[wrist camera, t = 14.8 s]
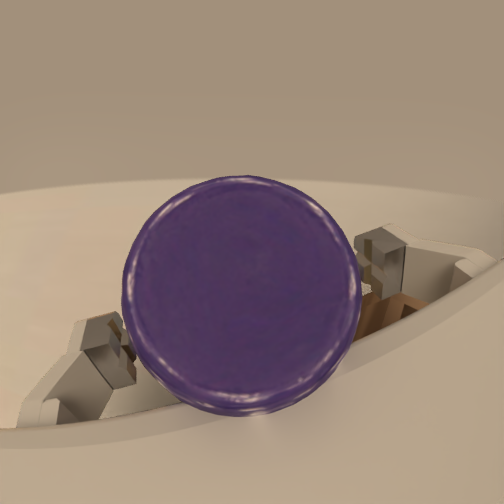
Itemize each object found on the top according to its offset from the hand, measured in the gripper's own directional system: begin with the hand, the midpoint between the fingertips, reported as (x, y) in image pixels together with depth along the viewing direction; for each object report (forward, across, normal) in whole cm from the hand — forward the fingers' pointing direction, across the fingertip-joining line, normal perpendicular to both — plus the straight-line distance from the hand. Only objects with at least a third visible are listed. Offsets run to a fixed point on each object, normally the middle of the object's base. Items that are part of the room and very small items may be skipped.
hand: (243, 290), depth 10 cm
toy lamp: (+7, 0, +8) cm, 11 cm away
